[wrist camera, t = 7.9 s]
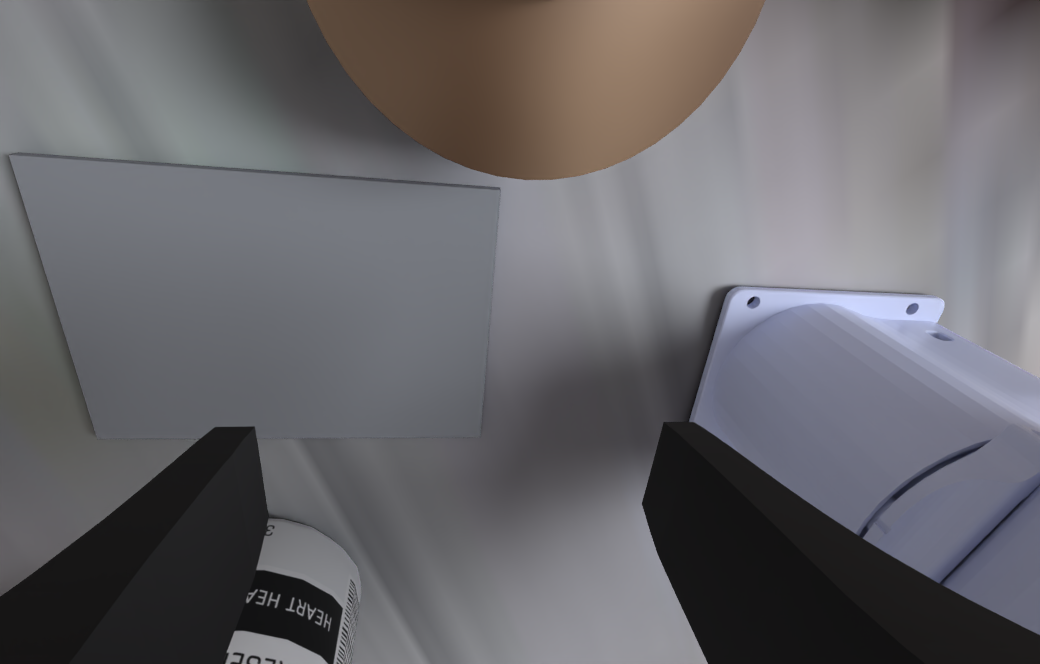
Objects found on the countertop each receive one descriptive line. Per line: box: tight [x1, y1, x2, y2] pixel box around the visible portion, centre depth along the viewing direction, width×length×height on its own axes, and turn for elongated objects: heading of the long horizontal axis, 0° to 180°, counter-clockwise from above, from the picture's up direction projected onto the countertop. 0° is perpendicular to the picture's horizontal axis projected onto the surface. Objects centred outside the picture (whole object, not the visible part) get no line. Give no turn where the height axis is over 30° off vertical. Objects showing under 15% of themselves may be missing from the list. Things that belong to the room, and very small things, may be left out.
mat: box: [9, 153, 501, 439], centre depth 19 cm, size 14×10×1 cm
